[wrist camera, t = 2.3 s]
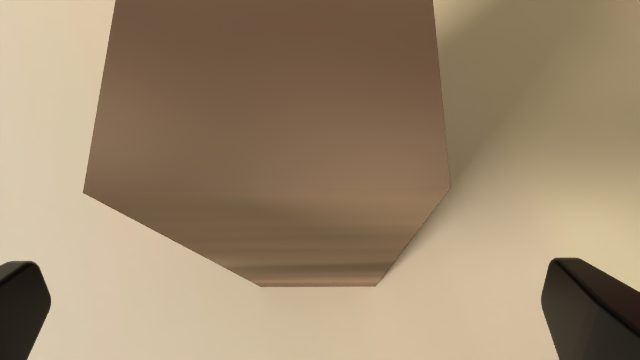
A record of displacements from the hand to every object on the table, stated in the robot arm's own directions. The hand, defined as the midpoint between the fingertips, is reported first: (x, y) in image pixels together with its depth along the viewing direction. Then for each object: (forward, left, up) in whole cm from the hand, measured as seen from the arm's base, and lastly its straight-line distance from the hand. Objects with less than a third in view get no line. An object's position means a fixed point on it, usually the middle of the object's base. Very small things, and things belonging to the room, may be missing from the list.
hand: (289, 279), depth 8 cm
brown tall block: (+3, -2, -10) cm, 11 cm away
